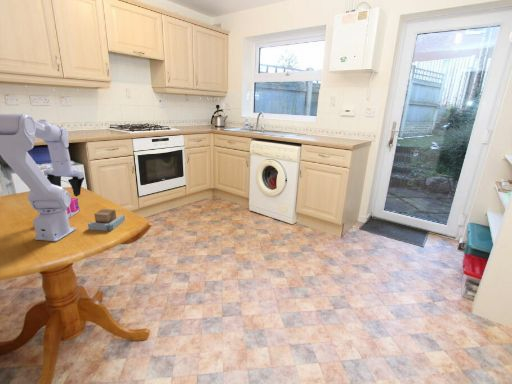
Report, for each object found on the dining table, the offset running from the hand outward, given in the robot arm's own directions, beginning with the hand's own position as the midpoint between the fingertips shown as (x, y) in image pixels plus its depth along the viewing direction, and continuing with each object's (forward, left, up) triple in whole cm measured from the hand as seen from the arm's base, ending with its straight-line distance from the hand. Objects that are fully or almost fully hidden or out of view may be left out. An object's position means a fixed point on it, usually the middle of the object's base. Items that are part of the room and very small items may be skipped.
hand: (68, 194), depth 105 cm
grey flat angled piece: (-3, -16, -10) cm, 19 cm away
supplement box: (+7, +5, -7) cm, 11 cm away
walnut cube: (-3, -16, -10) cm, 19 cm away
